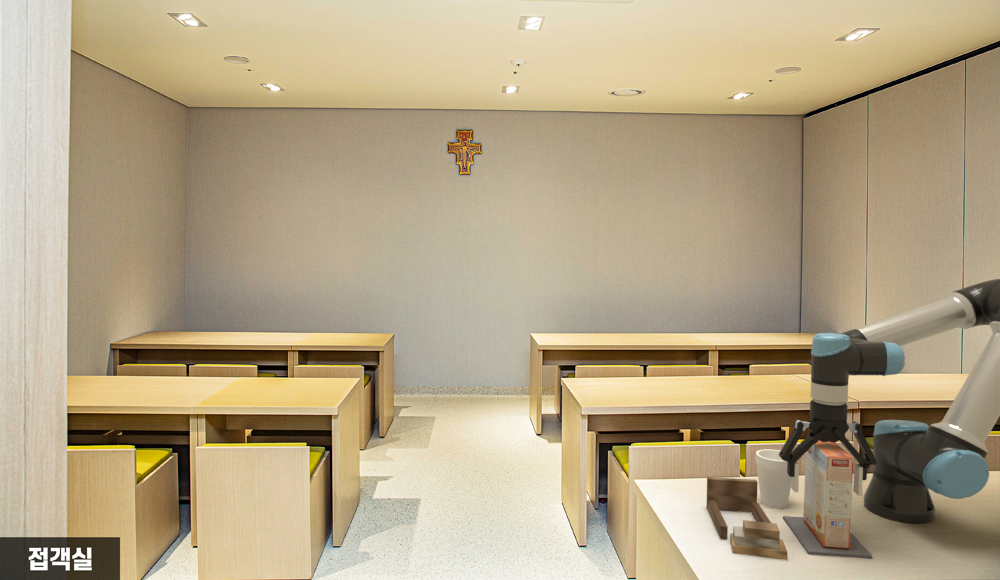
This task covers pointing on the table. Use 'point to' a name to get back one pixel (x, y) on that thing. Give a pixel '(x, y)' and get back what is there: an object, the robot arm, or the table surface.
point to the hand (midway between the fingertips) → (825, 491)
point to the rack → (732, 500)
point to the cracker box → (828, 494)
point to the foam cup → (773, 479)
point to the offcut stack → (758, 540)
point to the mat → (815, 546)
